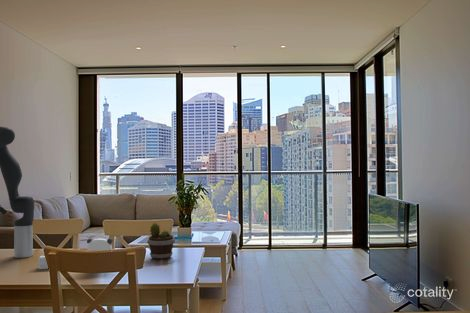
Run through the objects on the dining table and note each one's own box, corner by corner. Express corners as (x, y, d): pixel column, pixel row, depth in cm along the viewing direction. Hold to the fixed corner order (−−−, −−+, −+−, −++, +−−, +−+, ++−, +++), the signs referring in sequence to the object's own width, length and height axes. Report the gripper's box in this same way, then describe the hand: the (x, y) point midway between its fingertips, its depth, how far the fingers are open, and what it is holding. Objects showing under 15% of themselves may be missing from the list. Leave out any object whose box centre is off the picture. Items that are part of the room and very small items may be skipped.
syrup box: (38, 269, 209) (70, 267, 213) (38, 257, 209) (70, 255, 213) (39, 266, 214) (70, 264, 218) (39, 255, 214) (71, 253, 218)
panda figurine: (114, 266, 214) (114, 236, 214) (110, 272, 203) (110, 240, 203) (88, 267, 212) (88, 236, 213) (84, 273, 201) (84, 240, 201)
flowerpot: (177, 255, 240) (177, 219, 240) (171, 261, 224) (170, 222, 225) (152, 255, 241) (152, 219, 241) (143, 261, 226) (143, 222, 226)
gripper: (-17, 183, 198) (13, 208, 205) (-19, 182, 209) (10, 206, 216) (-31, 195, 195) (0, 220, 202) (-32, 194, 206) (-2, 217, 213)
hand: (5, 213), depth 209 cm, fingers closed
